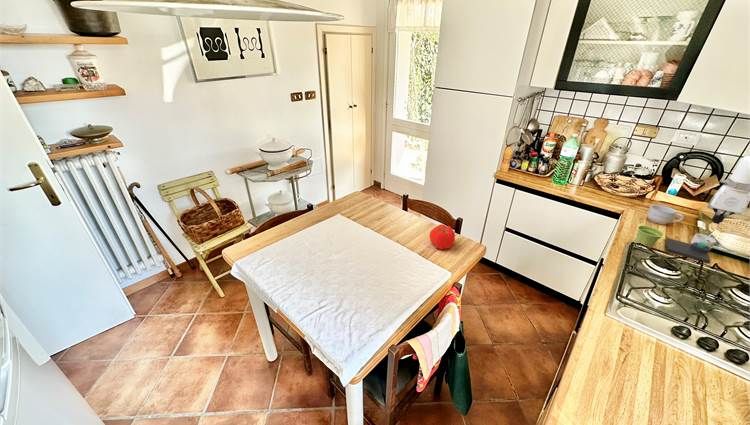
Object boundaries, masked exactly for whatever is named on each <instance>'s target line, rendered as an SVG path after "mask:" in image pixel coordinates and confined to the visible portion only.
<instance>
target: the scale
mask: <svg viewBox="0 0 750 425" xmlns="http://www.w3.org/2000/svg"><path fill="white" fill-rule="evenodd" d="M664 240H665V248H666V252H667V253H671V254H674V255H678V256H682V257H685V258H688V259H692V260H695V261H699V260H700V259H703V262H702V263H706V264H710V262H711V259H710V256H709V253H710V251H711V250H712V248H711V249H710V247H708V246H707V247H706V248H705V249H704V248H700V247H698V246H697V244H698V243H690V242H689V243H688V242H685V241H681V240H677V239H674V238H669V237H666V238H665V239H664Z"/></svg>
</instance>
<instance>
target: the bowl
mask: <svg viewBox="0 0 750 425" xmlns="http://www.w3.org/2000/svg"><path fill="white" fill-rule="evenodd" d="M705 240H706V241H705ZM707 240H709V241H710V242H708V241H707ZM699 242H702V243H705V244H707V246H708V247H710V249H711V250H712V248H713V247H714V246H713V245H715V244H717V240H716V239H715V238H714V237H712V236H710V235H708V234H704V233H695V234H694V235H693V237H692V238H691V240H690V244H692V243H699ZM711 247H712V248H711Z"/></svg>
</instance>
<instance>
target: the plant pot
mask: <svg viewBox="0 0 750 425" xmlns="http://www.w3.org/2000/svg"><path fill="white" fill-rule="evenodd" d="M664 234H665V233H664V232H663V231H661V230H660V229H658V228H656V227H652V226H649V225H638V226H637V233H636V237H635V240H634V243H641V244H643V245H645V246H648V247H650V248H651V249H652V248H653V247H654V246H655V244H656V243H657V242H658V241H659V240H660V239H661V238H662V237H664V236H665V235H664Z"/></svg>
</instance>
